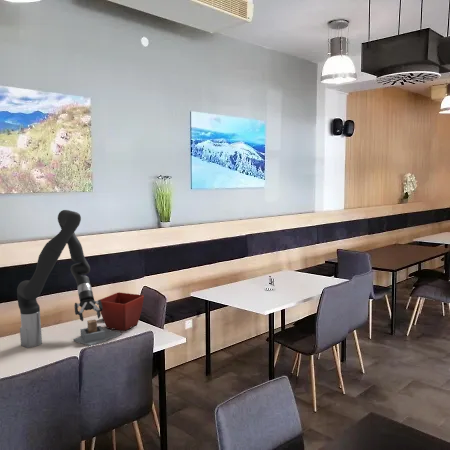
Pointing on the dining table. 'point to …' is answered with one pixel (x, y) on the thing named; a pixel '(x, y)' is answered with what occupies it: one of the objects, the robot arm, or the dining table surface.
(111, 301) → the plant pot
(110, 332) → the well board
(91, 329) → the walnut post
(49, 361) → the dining table surface
